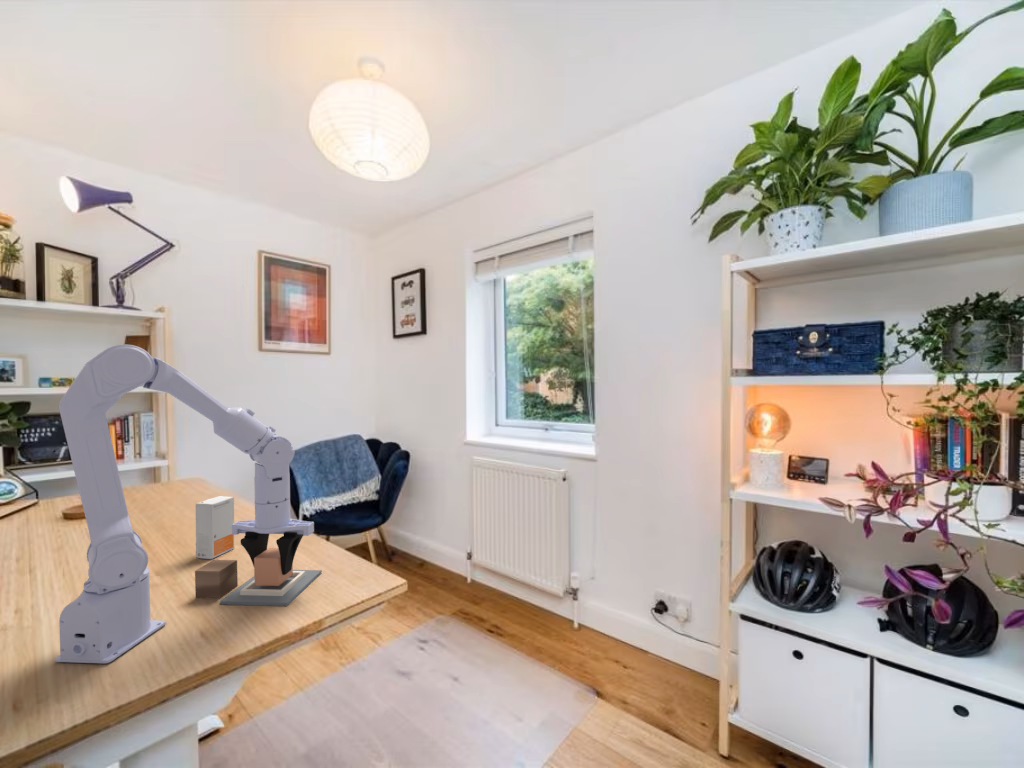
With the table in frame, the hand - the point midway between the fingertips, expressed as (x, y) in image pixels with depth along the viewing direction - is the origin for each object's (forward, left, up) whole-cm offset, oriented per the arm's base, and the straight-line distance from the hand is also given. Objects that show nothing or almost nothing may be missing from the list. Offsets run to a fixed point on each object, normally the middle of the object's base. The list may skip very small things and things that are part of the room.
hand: (274, 571), depth 79 cm
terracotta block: (0, 0, -2) cm, 2 cm away
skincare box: (+14, +22, -3) cm, 26 cm away
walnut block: (-2, +9, -3) cm, 10 cm away
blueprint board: (0, 0, -3) cm, 3 cm away
